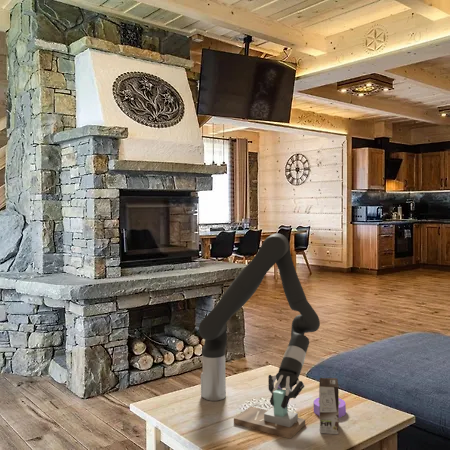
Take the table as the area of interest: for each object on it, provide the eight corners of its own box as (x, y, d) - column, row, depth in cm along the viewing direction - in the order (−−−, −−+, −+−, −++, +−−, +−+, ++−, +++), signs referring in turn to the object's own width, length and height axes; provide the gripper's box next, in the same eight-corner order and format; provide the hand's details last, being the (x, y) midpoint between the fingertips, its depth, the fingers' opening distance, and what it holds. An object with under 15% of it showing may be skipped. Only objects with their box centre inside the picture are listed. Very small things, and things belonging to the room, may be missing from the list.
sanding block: (264, 420, 174) (263, 391, 173) (272, 413, 179) (271, 385, 178) (290, 427, 168) (289, 397, 167) (297, 420, 173) (297, 390, 172)
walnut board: (233, 423, 177) (233, 418, 177) (250, 411, 187) (250, 406, 187) (290, 438, 165) (290, 432, 164) (305, 424, 175) (305, 419, 174)
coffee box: (339, 434, 167) (338, 387, 166) (319, 433, 168) (319, 386, 167) (338, 423, 176) (338, 377, 175) (319, 421, 177) (319, 376, 176)
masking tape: (307, 412, 185) (307, 402, 185) (324, 403, 194) (324, 393, 194) (335, 421, 177) (335, 411, 177) (351, 411, 186) (351, 401, 186)
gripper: (272, 353, 182) (255, 397, 173) (307, 359, 174) (292, 405, 165) (278, 363, 187) (263, 406, 177) (314, 370, 179) (299, 415, 169)
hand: (277, 406), depth 171 cm, fingers closed on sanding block, 3 cm apart
